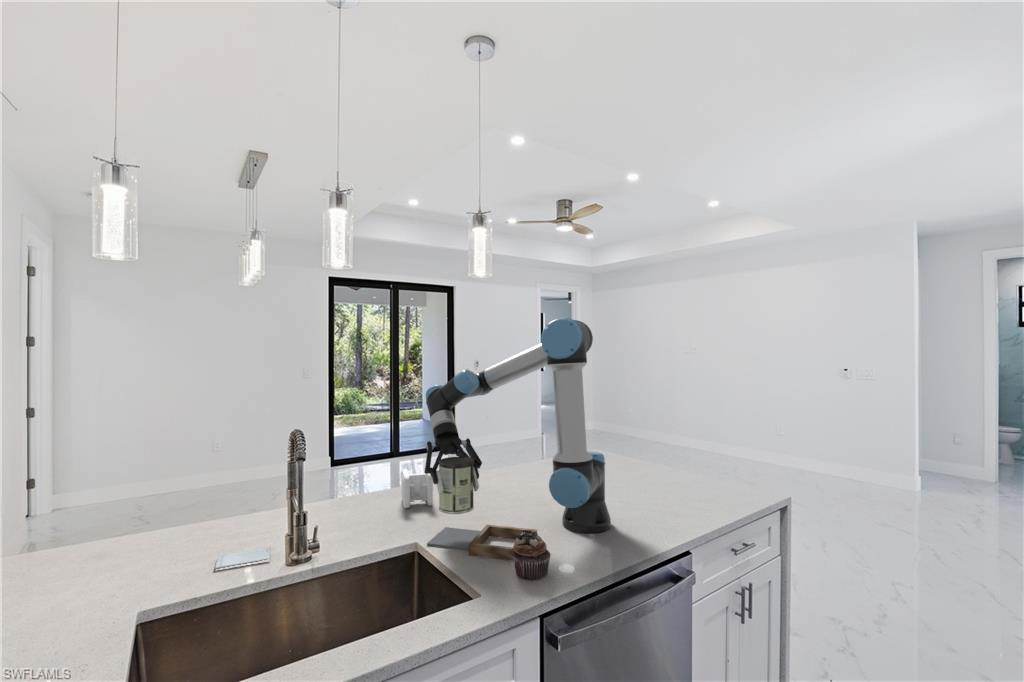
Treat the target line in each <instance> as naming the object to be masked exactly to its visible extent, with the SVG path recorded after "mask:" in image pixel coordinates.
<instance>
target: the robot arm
mask: <svg viewBox="0 0 1024 682" xmlns="http://www.w3.org/2000/svg"><path fill="white" fill-rule="evenodd" d="M593 340H594V337H593V332H592V330H591V328H590V327H589V326H588V325H587V323H585V322H583V321H580V320H577V319H572V318H569V317H561V318H556V319H554V320H551V321H550V322H549V323H548V324H546V326H545V327H544V328H543V330H542V333H541V336H540V343H539V344H537V345H535V346H532V347H530V348H528V349H526V350H524V351H522V352H520V353H518V354H515V355H513V356H511V357H509V358H506V359H505V360H503V361H502V360H501V361H500V362H498V363H496V364H494V365H492V366H490V367H487V368H485V369H483V370H481V371H478V372H477V373H475V372H473V371H472V370H470V369H468V368H467V369H463V370H461V371H460V372H458V373H456V375H455V376H453V377H452V378H451V379H450V380H449V381H448V382H447V383H445V384H444V385H441V384H435V385H434V386H430V387H428V388H427V390H426V391H425V400H426V402H425V404H426V406H427V410H428V413H429V418H430V419H429V420H430V425H431V427H432V428H431V429H432V434H433V438H434V442H431V441H429V440H428V441H427V443H426V446H425V449H426V459H425V466H424V469H425V474H428V473H429V474H431V476H432V479H433V485H436V486H437V491H438V497H439V496H441V495H442V493H443V491H444V490H443V485H442V480H441V476H440V471H439V460H441V459H443V455H444V456H448V455H455V457H468V458H471V459H473V460H474V463H473V492H478V490H479V488H480V484H479V478H480V473H479V469H481V467H482V464H483V461H482V460H481V458H480V456H479V454H478V453H477V452H476V450H475V449H474V447H473V445H472V444H471V439H470V438H469V437H468V438H466V439H464V440H463V439H461V438H460V436H459V432H458V431H459V430H458V427H457V424H456V419H455V416H454V412H453V408H454V407H455V406H457V405H458V404H460V403H461V402H462V401H463V400H464V399H468V398H473V397H477V396H485V395H487V394H490V393H491V392H492V391H493V390H496V389H498V388H499V387H501V386H505V385H507V384H510V383H511V382H513V381H516V380H518V379H520V378H522V377H525V376H527V375H529V374H531V373H534V372H537V371H538V370H540V369H543V368H545V367H549V368H550V369H551V370H552V379H553V380H552V381H553V382H552V383H553V395H554V411H555V413H554V415H555V434H556V451H557V452H556V453H555V454H554V455H553V457H552V474H551V475H550V478H549V479H548V480H549V482H548V488H549V492H550V495H551V498H552V499H553V500H555V501H556V503H557V504H559V505H560V506H561V507H562V506H563V507H564V510H563V513H562V526H563V527H564V528H566V529H568V530H569V531H573V532H576V533H580V534H581V533H582V534H583V533H584V534H596V533H603V532H606V531H608V530H609V529H610V528H611V527H612V525H611V524H612V523H611V522H612V521H611V520H612V519H611V516H610V513H609V509H608V507H607V503H606V499H605V498H606V481H605V480H606V479H605V478H606V475H605V474H606V472H605V471H606V469H605V467H606V461H605V459H606V458H605V455H604V454H603V453H601V452H597V451H588V450H587V448H588V447H587V434H586V433H587V432H586V430H587V429H586V417H585V416H586V415H585V413H586V412H585V399H584V398H585V397H584V396H585V394H584V380H583V369H584V367H585V366H586V365H587V364H588V360H587V358H588V357H587V353H588V352H589V351H590V349H591V348H592V345H593V342H594V341H593ZM434 448H436V449H437V450H438V451H439V452H438V455H437V457H436V458H435V462H434V463H433V466H432V467H431V464H432V463H431V462H432V455H433V450H434ZM464 449H465V450H464ZM465 451H466V452H465Z"/></svg>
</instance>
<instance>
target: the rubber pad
mask: <svg viewBox="0 0 1024 682" xmlns="http://www.w3.org/2000/svg"><path fill="white" fill-rule="evenodd" d="M480 532H481V530H476V529H475V530H474V529H467V528H466V529H465V528H456V527H450V526H449V527H447V526H445V527H444V528H443V529H442V530H441V531H440V532H438V533H437V534H436V535H435V536H434V537H432V538H431V539H430V540H429V541H427V542H426V546H429V547H430V546H431V547H436V548H437V547H438V548H445V549H454V550H461V549H462V550H463V551H468V544H469V543H470V542H471V541H472V540H473V539H474V538H475V537H476V536H477V535H478V534H479V533H480ZM462 550H461V551H462Z"/></svg>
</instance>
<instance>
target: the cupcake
mask: <svg viewBox="0 0 1024 682" xmlns="http://www.w3.org/2000/svg"><path fill="white" fill-rule="evenodd" d="M529 533H530V532H528V531H526V530H524V531H523V533H521V536H518V537H517V538H516V539H515V542H514V544H513V546H512V548H513V549H512V557H513V561H512V562H513V565H514V571H515V576H517V578H519V579H521V580H525V581H539V580H542V579H544V578H546V577H547V575H548V570H549V564H550V559H551V552H550V551H549V550H548V549H547V544H546V542H545V541H544V540H543V539H542V537H541V536H540V535H539V534H538V531H537V532H531V535H529Z"/></svg>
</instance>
